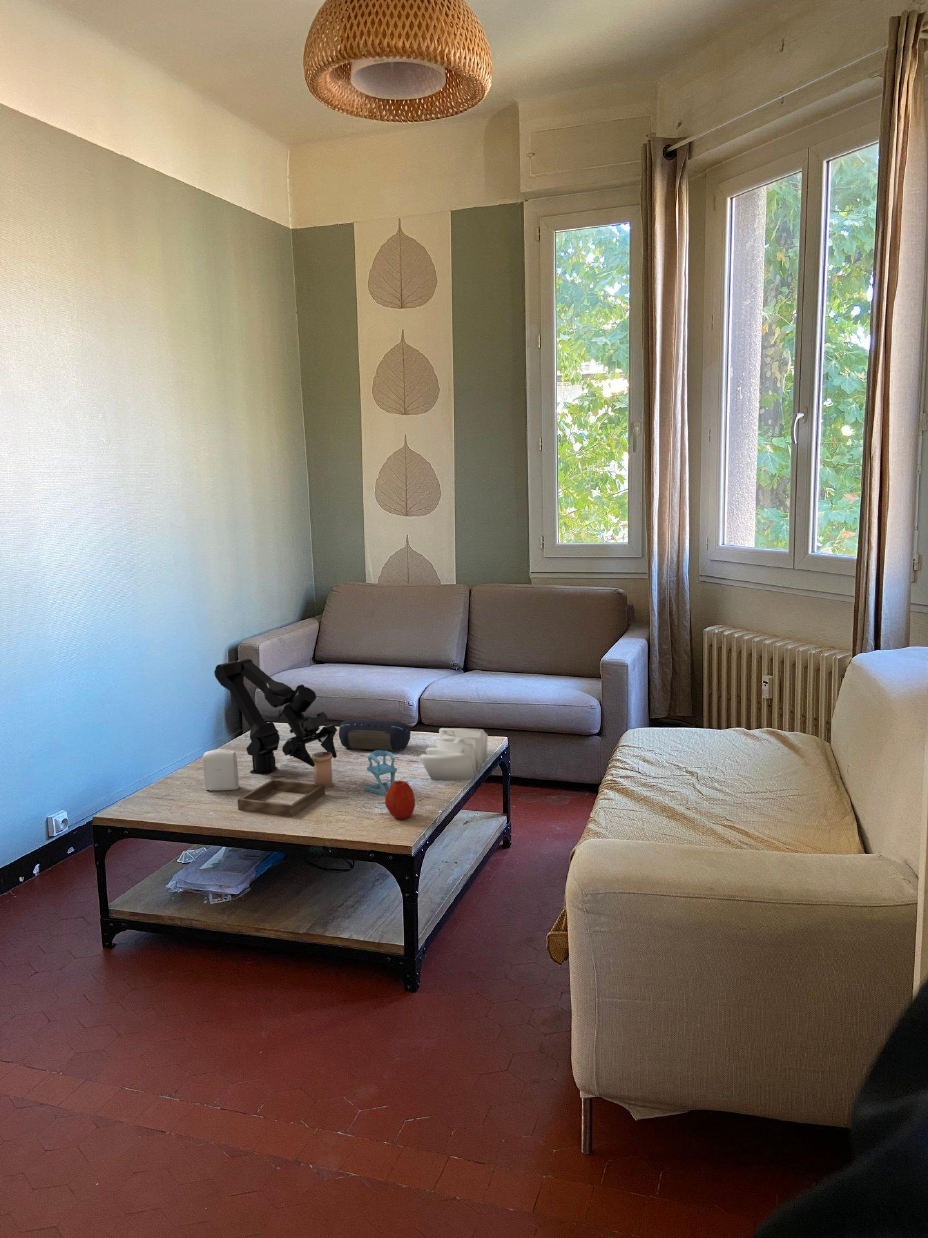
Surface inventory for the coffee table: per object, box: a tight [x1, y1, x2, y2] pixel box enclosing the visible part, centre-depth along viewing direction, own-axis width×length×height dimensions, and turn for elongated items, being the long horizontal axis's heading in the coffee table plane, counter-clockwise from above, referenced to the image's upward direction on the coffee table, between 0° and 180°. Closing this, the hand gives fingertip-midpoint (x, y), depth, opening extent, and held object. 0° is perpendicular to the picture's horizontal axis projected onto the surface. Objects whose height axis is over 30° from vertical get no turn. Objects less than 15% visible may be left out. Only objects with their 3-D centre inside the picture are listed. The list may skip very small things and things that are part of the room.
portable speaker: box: [338, 718, 411, 751], centre depth 307 cm, size 25×10×10 cm, turn 76°
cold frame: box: [237, 778, 326, 817], centre depth 259 cm, size 18×18×3 cm
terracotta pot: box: [311, 751, 333, 790], centre depth 271 cm, size 6×6×10 cm
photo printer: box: [202, 748, 240, 791], centre depth 271 cm, size 10×4×12 cm, turn 89°
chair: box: [364, 750, 398, 796], centre depth 266 cm, size 8×8×12 cm
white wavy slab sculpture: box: [418, 727, 489, 782], centre depth 285 cm, size 35×16×10 cm, turn 163°
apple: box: [384, 780, 416, 820], centre depth 245 cm, size 8×8×11 cm
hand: (325, 761), depth 270 cm, fingers open, 9 cm apart
